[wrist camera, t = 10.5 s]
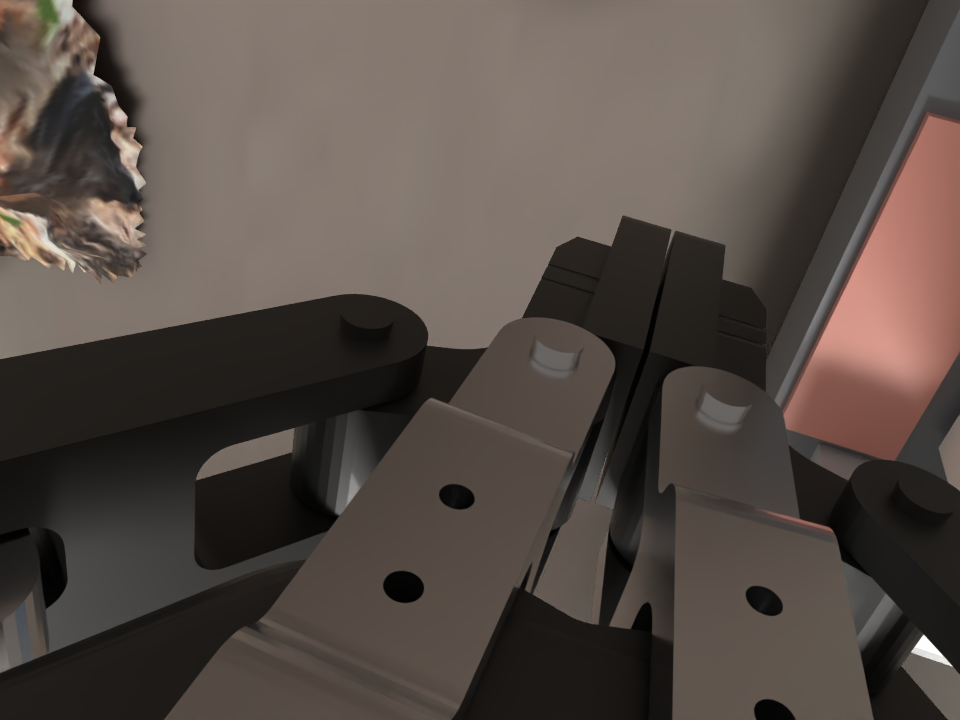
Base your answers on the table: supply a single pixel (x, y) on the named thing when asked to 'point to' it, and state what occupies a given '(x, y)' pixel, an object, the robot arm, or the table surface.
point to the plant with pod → (64, 147)
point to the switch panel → (885, 285)
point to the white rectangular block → (952, 454)
